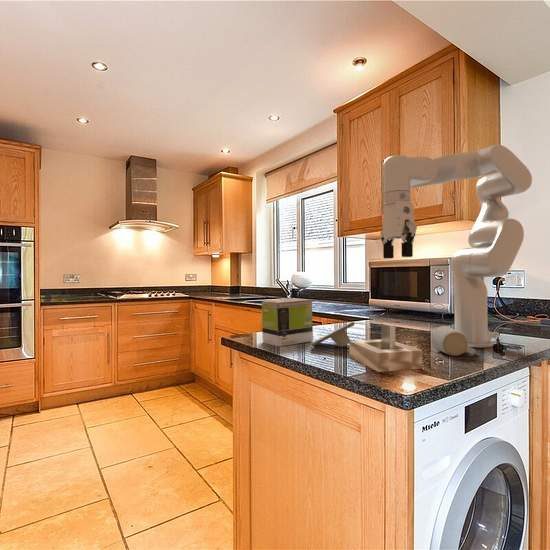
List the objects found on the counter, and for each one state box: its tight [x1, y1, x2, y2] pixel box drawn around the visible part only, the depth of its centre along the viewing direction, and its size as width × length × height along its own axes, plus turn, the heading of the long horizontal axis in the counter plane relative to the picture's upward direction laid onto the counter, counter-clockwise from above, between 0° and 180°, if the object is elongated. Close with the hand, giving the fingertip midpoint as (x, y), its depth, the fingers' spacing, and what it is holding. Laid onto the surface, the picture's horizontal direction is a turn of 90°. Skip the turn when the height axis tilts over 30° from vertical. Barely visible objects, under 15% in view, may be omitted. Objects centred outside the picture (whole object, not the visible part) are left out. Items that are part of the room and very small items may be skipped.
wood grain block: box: [380, 322, 396, 350], centre depth 96 cm, size 4×4×10 cm
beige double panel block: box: [310, 321, 355, 348], centre depth 116 cm, size 16×9×15 cm
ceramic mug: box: [431, 325, 477, 357], centre depth 105 cm, size 11×8×8 cm
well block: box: [348, 338, 423, 373], centre depth 96 cm, size 12×16×4 cm
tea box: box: [261, 298, 314, 348], centre depth 125 cm, size 15×10×15 cm, turn 124°
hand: (397, 257), depth 107 cm, fingers open, 9 cm apart
